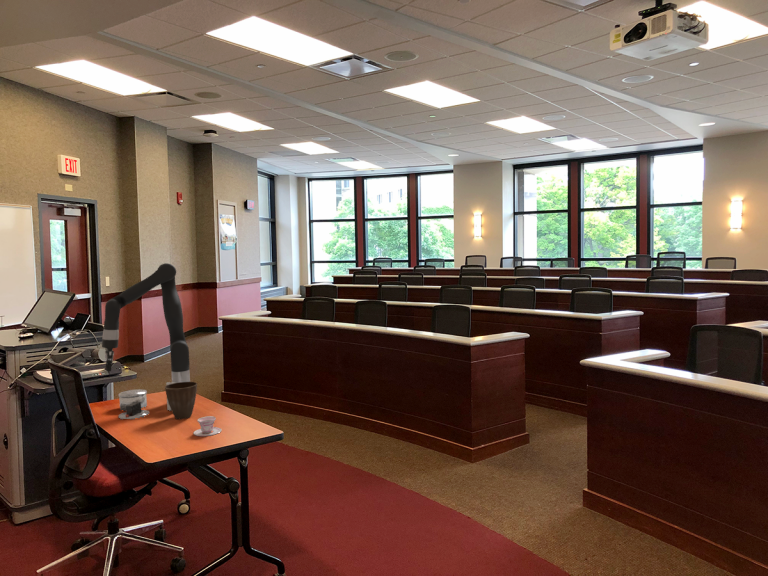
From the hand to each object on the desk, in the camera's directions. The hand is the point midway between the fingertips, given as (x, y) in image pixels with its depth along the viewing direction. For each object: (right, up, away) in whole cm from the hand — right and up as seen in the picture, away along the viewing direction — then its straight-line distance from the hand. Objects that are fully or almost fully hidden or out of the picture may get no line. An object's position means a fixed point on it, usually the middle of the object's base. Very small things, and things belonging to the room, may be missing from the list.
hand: (108, 369), depth 295 cm
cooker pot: (+10, -21, +7) cm, 24 cm away
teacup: (+63, -23, -39) cm, 77 cm away
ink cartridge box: (+35, -21, +1) cm, 41 cm away
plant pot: (+43, -22, -14) cm, 50 cm away
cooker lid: (+17, -22, -8) cm, 29 cm away
